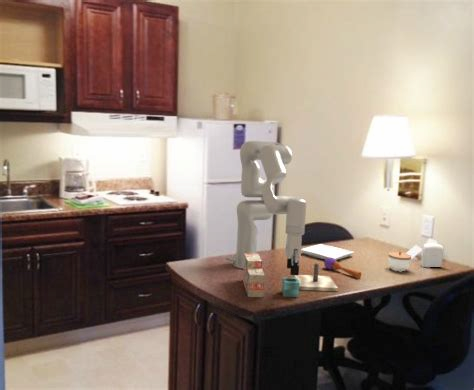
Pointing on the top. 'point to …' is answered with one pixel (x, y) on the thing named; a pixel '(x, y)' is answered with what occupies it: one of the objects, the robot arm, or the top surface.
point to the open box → (290, 287)
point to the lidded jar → (399, 261)
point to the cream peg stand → (316, 281)
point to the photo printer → (432, 255)
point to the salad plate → (326, 252)
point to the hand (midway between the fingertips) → (292, 271)
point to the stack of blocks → (253, 275)
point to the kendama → (332, 264)
